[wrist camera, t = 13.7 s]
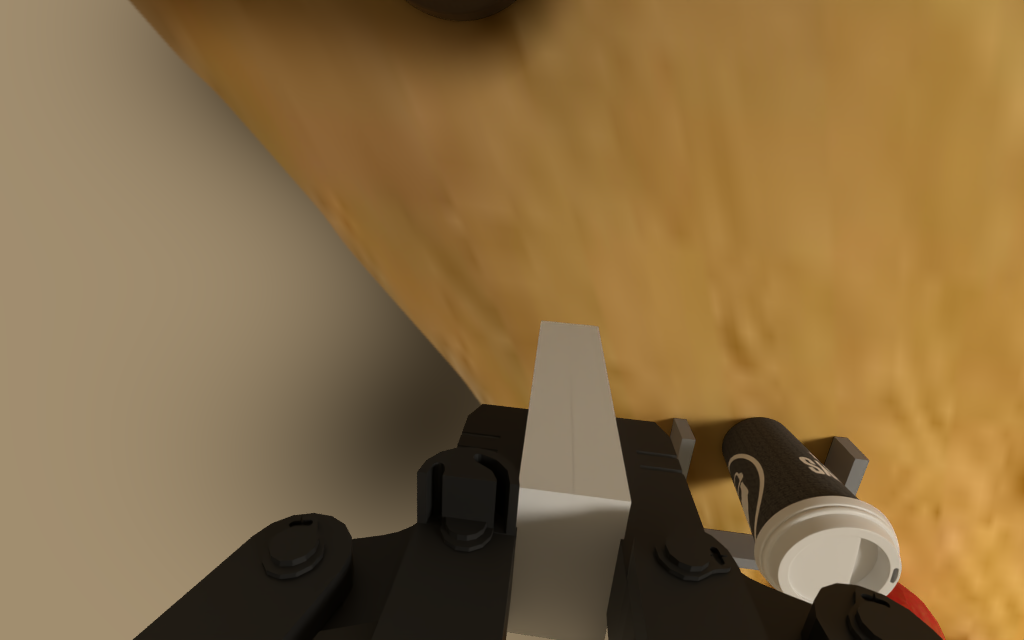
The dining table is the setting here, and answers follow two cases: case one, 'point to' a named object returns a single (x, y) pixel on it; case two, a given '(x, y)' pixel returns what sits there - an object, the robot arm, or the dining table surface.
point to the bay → (840, 462)
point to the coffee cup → (806, 516)
